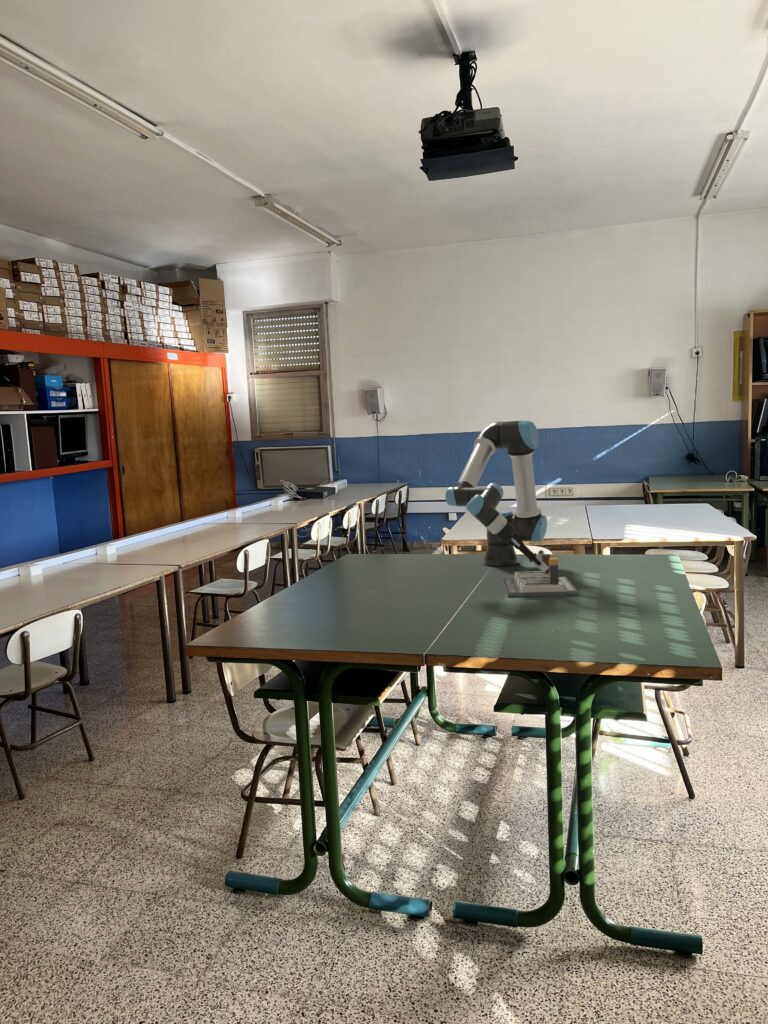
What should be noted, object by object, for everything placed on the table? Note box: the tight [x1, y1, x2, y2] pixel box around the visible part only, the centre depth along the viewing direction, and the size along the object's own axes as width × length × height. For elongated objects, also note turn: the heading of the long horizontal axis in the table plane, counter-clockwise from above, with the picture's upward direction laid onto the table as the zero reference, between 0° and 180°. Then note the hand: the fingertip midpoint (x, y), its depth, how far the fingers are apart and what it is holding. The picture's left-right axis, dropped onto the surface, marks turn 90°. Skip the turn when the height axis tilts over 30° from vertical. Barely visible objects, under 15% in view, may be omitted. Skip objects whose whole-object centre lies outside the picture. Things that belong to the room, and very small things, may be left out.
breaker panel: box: [501, 553, 578, 598], centre depth 284 cm, size 25×25×11 cm
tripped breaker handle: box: [549, 557, 559, 565], centre depth 284 cm, size 2×3×7 cm
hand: (546, 569), depth 284 cm, fingers closed
